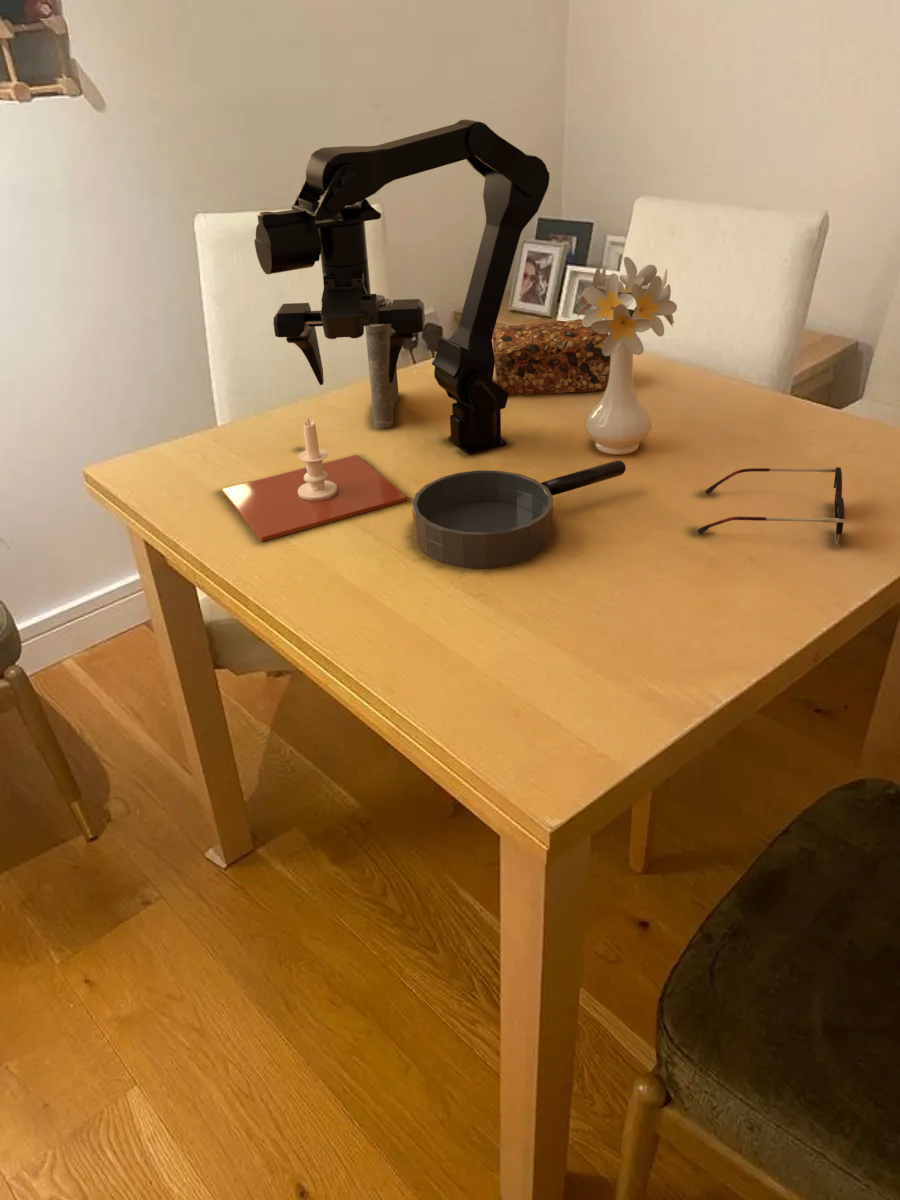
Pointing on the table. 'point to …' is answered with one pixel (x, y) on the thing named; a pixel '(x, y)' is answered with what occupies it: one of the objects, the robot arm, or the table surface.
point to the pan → (483, 519)
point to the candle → (314, 468)
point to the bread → (550, 358)
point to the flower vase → (623, 350)
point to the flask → (381, 370)
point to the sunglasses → (837, 513)
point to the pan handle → (585, 477)
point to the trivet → (285, 512)
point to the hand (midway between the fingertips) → (356, 382)
